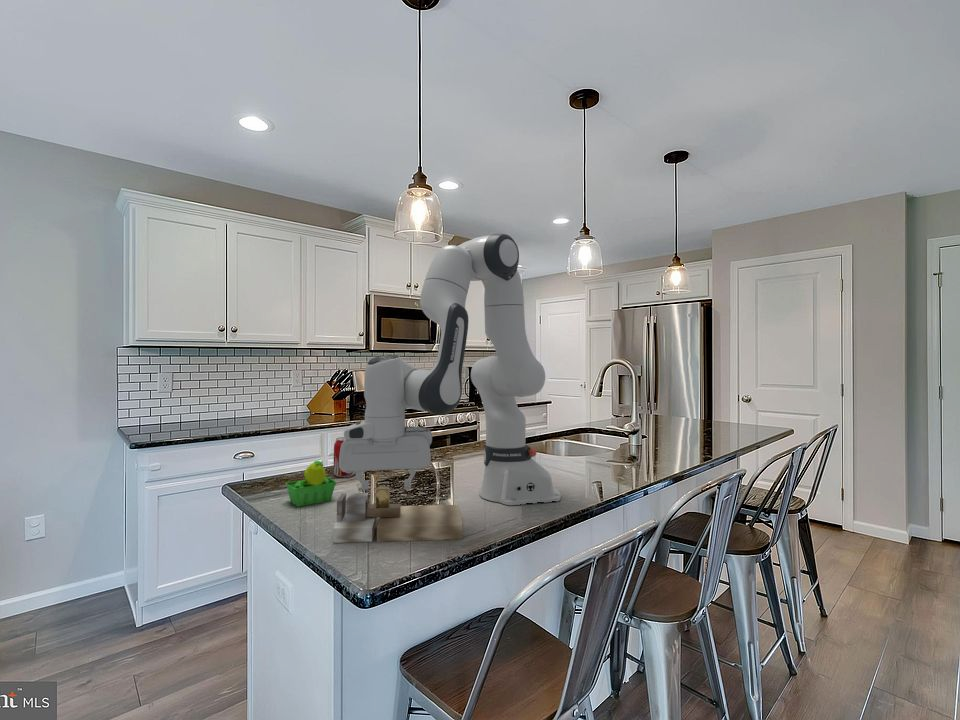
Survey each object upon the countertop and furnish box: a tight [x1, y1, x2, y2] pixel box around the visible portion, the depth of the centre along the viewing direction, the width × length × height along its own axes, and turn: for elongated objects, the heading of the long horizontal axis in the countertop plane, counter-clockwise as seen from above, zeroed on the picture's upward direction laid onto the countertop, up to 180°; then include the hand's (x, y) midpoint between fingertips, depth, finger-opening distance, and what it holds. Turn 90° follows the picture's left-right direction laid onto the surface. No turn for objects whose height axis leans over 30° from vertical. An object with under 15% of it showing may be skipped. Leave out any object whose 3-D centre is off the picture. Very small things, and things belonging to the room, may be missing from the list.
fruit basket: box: [285, 460, 337, 507], centre depth 129 cm, size 11×9×11 cm
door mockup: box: [332, 492, 463, 544], centre depth 110 cm, size 27×14×8 cm, turn 96°
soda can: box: [333, 436, 356, 478], centre depth 156 cm, size 7×7×12 cm
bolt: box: [366, 485, 402, 518], centre depth 109 cm, size 12×3×6 cm, turn 96°
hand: (386, 488), depth 110 cm, fingers open, 8 cm apart
